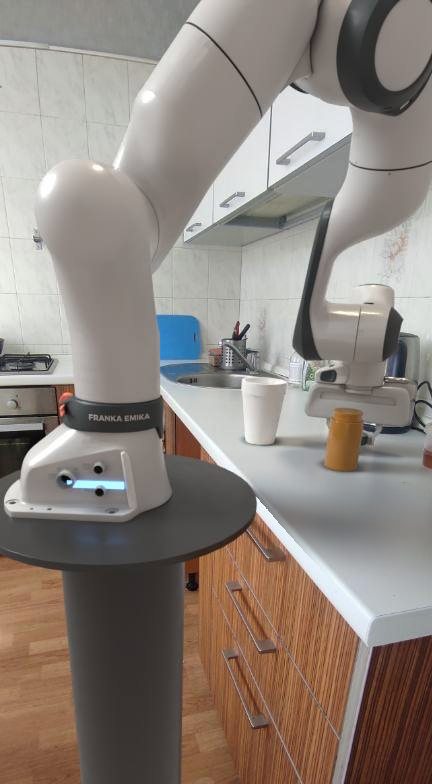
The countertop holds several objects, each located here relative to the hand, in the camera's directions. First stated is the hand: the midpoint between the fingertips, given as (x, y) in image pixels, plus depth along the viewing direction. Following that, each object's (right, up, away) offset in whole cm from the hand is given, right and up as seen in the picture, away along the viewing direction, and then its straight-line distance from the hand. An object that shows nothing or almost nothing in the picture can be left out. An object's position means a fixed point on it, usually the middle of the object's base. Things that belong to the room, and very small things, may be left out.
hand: (351, 442), depth 96 cm
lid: (0, +1, -1) cm, 2 cm away
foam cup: (-18, +1, +5) cm, 19 cm away
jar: (-4, -5, -8) cm, 11 cm away
